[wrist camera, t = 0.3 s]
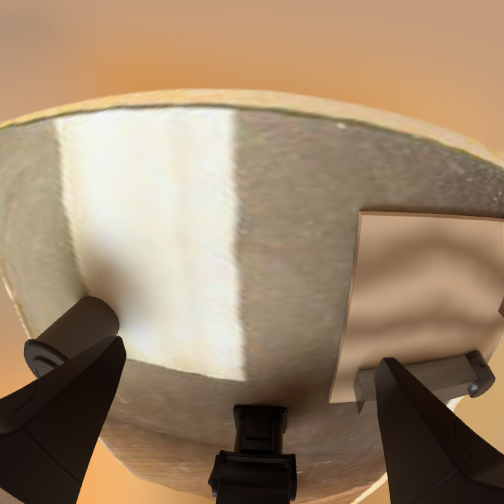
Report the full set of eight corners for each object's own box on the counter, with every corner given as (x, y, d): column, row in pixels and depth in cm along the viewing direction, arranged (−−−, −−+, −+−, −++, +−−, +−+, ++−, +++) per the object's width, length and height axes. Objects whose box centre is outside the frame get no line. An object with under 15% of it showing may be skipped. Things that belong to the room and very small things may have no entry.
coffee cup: (122, 355, 30) (87, 422, 21) (65, 321, 29) (21, 378, 20) (139, 311, 27) (94, 387, 18) (72, 271, 25) (13, 331, 16)
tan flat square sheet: (475, 373, 28) (478, 378, 27) (328, 396, 30) (329, 403, 29) (536, 221, 19) (541, 225, 18) (358, 210, 21) (362, 215, 20)
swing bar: (484, 347, 24) (500, 373, 20) (473, 368, 26) (486, 393, 22) (358, 367, 26) (367, 401, 22) (352, 388, 27) (358, 421, 23)
